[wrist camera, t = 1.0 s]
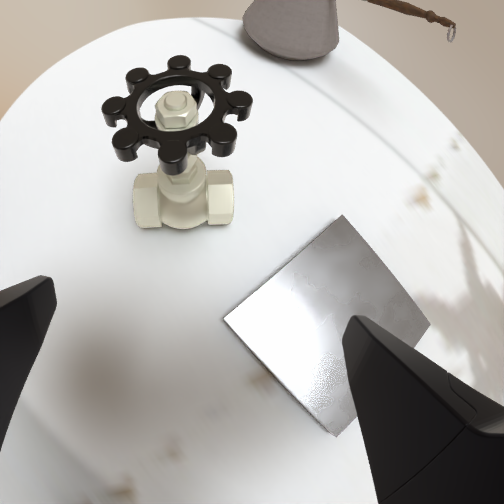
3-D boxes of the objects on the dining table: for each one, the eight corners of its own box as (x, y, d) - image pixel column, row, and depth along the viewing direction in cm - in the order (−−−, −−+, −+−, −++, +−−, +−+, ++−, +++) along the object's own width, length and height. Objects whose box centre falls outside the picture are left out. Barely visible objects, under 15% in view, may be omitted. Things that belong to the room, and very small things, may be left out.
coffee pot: (219, 33, 30) (235, -73, 15) (284, 14, 33) (310, -71, 19) (359, 145, 27) (443, 34, 13) (407, 108, 31) (473, 25, 17)
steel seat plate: (330, 433, 20) (336, 437, 19) (223, 319, 21) (224, 318, 20) (422, 325, 23) (430, 324, 22) (336, 220, 25) (342, 214, 23)
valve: (144, 175, 23) (114, 60, 12) (226, 171, 24) (246, 54, 13) (141, 254, 21) (87, 169, 10) (231, 250, 23) (261, 161, 11)
